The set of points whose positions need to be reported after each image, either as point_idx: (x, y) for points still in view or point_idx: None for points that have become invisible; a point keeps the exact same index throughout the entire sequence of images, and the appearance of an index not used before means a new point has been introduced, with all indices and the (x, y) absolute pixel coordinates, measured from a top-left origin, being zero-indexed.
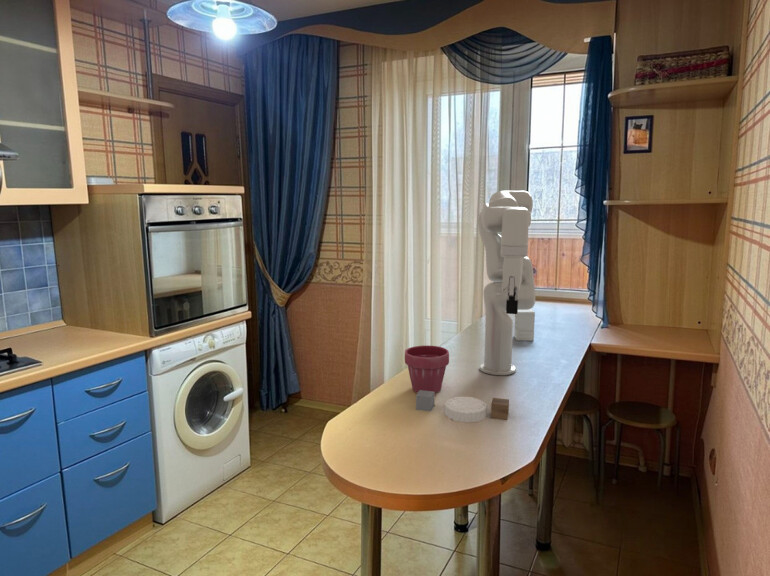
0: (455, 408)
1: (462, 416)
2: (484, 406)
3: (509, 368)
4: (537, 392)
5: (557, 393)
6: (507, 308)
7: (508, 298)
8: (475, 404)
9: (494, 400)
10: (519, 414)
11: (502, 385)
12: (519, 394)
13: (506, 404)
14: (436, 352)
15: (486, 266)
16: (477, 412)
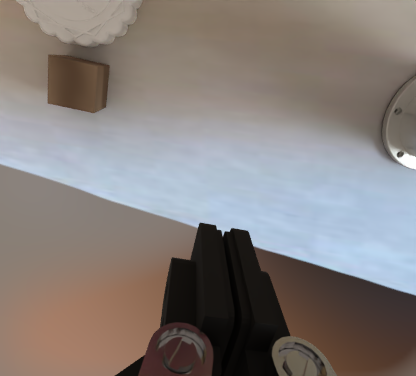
0: None
1: None
2: (66, 36)
3: (409, 152)
4: (254, 195)
5: None
6: (198, 256)
7: (141, 367)
8: (66, 5)
9: (75, 68)
10: (108, 133)
11: (306, 117)
12: (240, 152)
13: (51, 100)
14: None
15: None
16: (24, 9)
